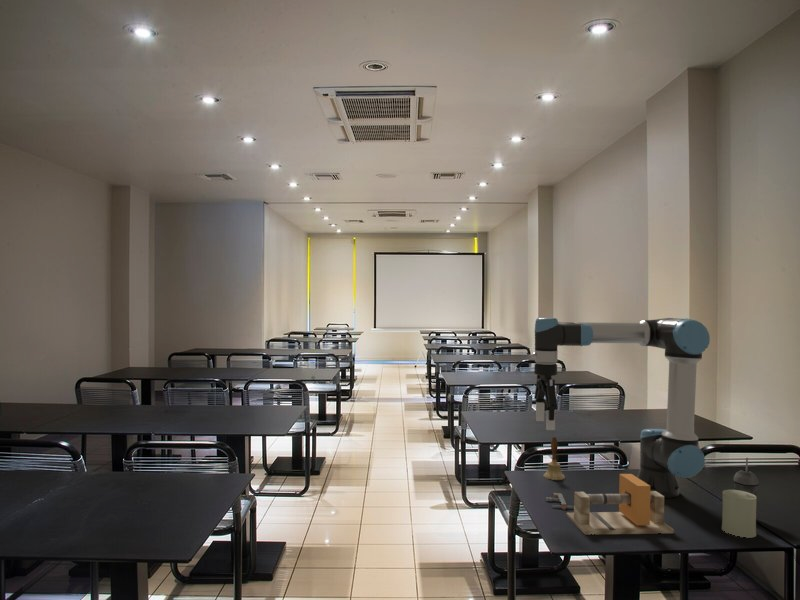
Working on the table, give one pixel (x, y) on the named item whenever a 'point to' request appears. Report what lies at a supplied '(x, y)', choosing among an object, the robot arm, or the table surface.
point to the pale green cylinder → (739, 513)
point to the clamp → (559, 498)
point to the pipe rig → (616, 515)
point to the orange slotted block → (635, 499)
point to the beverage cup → (746, 481)
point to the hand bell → (554, 464)
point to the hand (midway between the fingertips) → (545, 425)
